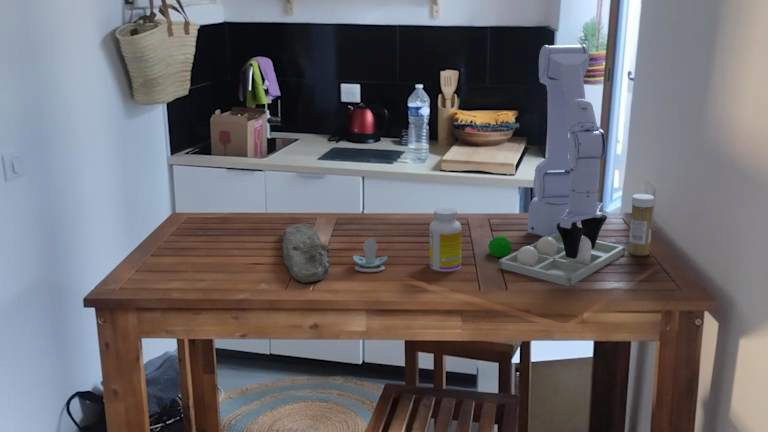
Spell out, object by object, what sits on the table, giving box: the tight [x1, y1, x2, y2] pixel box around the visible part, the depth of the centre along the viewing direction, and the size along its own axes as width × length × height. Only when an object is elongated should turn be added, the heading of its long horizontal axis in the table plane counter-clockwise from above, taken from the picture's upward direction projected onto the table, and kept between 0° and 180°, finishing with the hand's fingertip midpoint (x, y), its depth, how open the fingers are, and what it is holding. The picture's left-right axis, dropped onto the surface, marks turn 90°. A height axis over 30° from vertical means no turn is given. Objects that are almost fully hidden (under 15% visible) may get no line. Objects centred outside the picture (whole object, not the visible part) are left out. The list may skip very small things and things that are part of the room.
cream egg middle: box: [537, 236, 557, 257], centre depth 169 cm, size 4×4×4 cm
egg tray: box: [498, 232, 626, 288], centre depth 167 cm, size 16×24×2 cm
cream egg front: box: [517, 245, 538, 267], centre depth 163 cm, size 4×4×4 cm
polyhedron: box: [488, 235, 513, 258], centre depth 171 cm, size 5×5×5 cm
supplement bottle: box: [429, 207, 463, 272], centre depth 163 cm, size 7×7×13 cm
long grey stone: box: [280, 222, 331, 284], centre depth 174 cm, size 35×5×10 cm
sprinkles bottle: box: [628, 193, 655, 256], centre depth 169 cm, size 5×5×13 cm
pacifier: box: [352, 238, 388, 273], centre depth 166 cm, size 7×6×6 cm
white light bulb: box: [569, 235, 591, 265], centre depth 163 cm, size 4×4×6 cm
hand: (580, 252), depth 164 cm, fingers open, 7 cm apart
